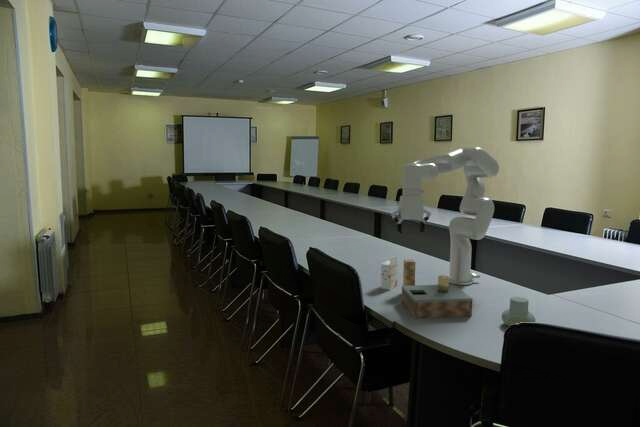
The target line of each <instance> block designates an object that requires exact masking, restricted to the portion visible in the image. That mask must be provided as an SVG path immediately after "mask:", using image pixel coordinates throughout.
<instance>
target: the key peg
mask: <svg viewBox="0 0 640 427" xmlns="http://www.w3.org/2000/svg"><path fill="white" fill-rule="evenodd" d="M402 274H403V275H402V277H403V279H402V281H403V283H402V286H413V285H416V284H415V283H416V261H415V260H414V259H403V273H402Z"/></svg>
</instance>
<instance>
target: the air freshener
mask: <svg viewBox="0 0 640 427" xmlns="http://www.w3.org/2000/svg"><path fill="white" fill-rule="evenodd" d="M501 320H502V321H503V324H505V325H506V326H508V327H510V326H509V325H511V324H515V323H520V322H535V323H536V317H535V315H533V313H531V312H530V311H529V300H528V299H527V298H526V297H525V298H524V297H520V296H513V297H511V298H510V300H509V308H507V309H505V310H504V311H503V312H502V313H501Z"/></svg>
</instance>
